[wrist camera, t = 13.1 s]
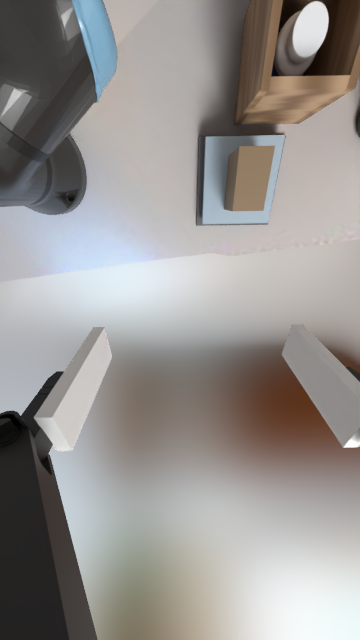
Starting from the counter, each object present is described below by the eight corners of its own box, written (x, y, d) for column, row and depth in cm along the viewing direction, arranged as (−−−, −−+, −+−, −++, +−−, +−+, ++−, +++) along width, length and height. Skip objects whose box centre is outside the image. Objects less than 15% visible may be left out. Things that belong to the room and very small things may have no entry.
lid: (201, 223, 41) (206, 228, 33) (204, 140, 34) (212, 122, 26) (263, 221, 41) (284, 227, 33) (278, 138, 34) (309, 120, 26)
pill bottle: (255, 56, 29) (285, 0, 21) (292, 41, 29) (339, -23, 20) (257, 105, 32) (285, 73, 24) (291, 93, 32) (332, 55, 23)
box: (234, 124, 33) (260, 89, 23) (244, 17, 28) (286, -97, 17) (298, 123, 33) (355, 88, 23) (322, 16, 28) (413, -100, 17)
